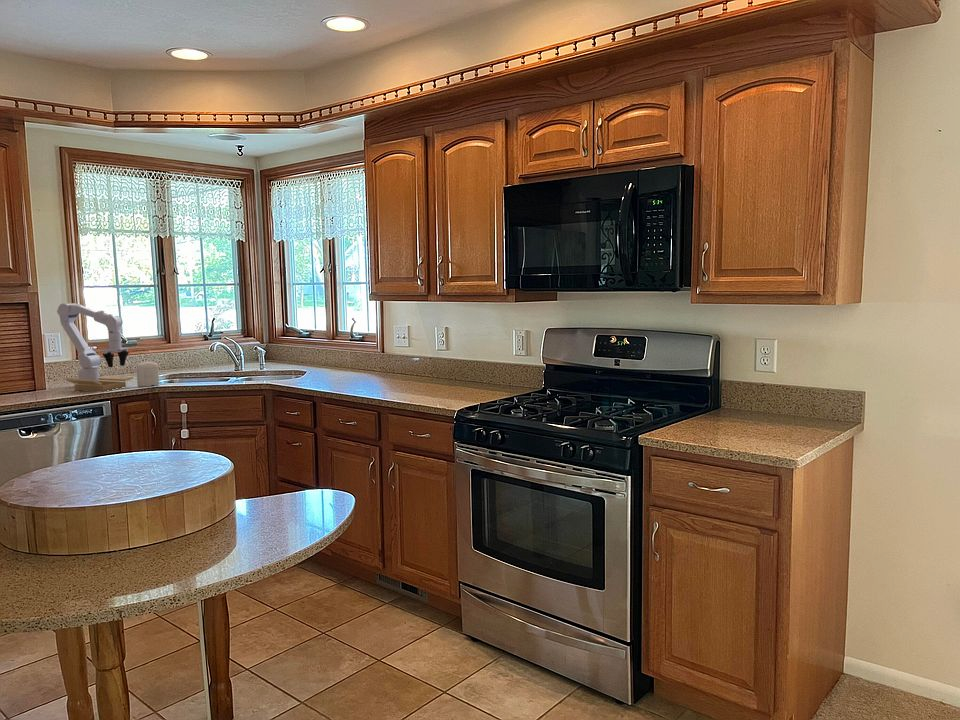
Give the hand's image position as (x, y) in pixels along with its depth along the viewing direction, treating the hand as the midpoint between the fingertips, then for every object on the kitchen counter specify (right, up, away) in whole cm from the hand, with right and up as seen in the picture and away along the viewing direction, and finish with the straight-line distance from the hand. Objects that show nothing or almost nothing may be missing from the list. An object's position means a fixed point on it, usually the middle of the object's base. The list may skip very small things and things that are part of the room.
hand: (116, 366), depth 377 cm
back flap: (+1, -6, -3) cm, 6 cm away
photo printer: (+17, -10, -1) cm, 20 cm away
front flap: (-5, -7, -21) cm, 23 cm away
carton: (-2, -11, -12) cm, 16 cm away
